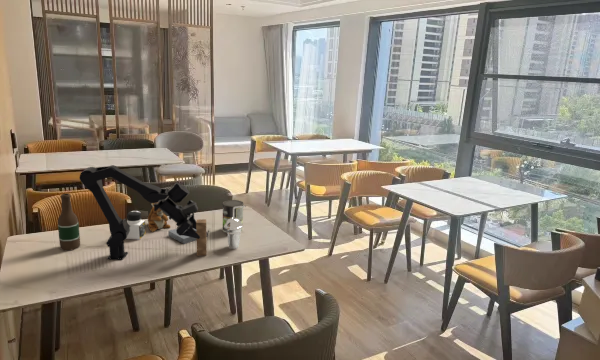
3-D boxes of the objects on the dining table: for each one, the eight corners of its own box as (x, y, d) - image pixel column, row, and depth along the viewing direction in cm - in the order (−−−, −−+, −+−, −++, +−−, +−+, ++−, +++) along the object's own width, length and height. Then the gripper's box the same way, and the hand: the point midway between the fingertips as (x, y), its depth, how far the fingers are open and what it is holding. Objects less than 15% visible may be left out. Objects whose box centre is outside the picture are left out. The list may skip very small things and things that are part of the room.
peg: (196, 255, 181) (196, 222, 177) (197, 251, 185) (196, 219, 181) (206, 255, 182) (205, 222, 178) (206, 251, 186) (206, 219, 182)
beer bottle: (72, 252, 179) (66, 197, 173) (56, 249, 181) (50, 195, 175) (84, 245, 187) (80, 192, 181) (69, 242, 188) (64, 191, 182)
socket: (183, 243, 192) (183, 238, 192) (168, 235, 201) (168, 230, 200) (207, 236, 202) (207, 231, 201) (192, 229, 210) (192, 224, 210)
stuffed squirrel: (152, 233, 203) (151, 206, 200) (142, 224, 214) (140, 199, 211) (172, 229, 210) (171, 203, 206) (161, 220, 220) (160, 196, 217)
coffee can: (225, 234, 205) (225, 207, 202) (220, 227, 214) (220, 200, 211) (245, 232, 210) (246, 205, 206) (239, 225, 219) (240, 199, 215)
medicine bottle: (140, 239, 195) (138, 215, 192) (124, 239, 195) (123, 214, 192) (145, 234, 202) (144, 210, 199) (130, 233, 202) (129, 209, 199)
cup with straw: (232, 241, 198) (232, 200, 192) (247, 246, 193) (248, 204, 188) (220, 247, 190) (220, 205, 185) (235, 252, 186) (236, 209, 181)
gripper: (183, 203, 167) (213, 229, 172) (187, 190, 185) (213, 213, 189) (164, 223, 168) (193, 247, 172) (169, 207, 185) (196, 230, 190)
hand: (200, 233), depth 181 cm, fingers open, 9 cm apart
